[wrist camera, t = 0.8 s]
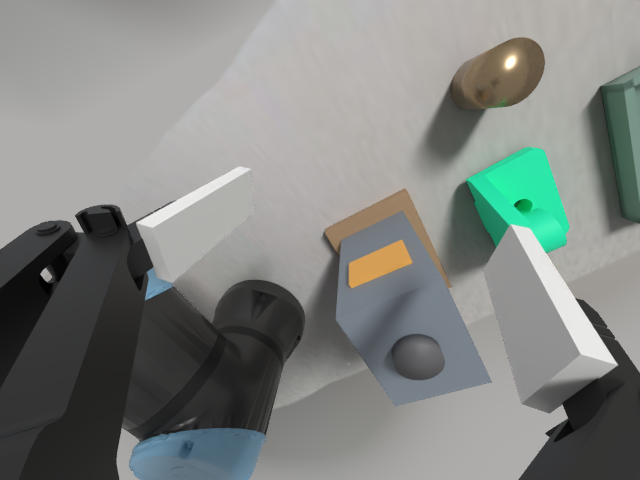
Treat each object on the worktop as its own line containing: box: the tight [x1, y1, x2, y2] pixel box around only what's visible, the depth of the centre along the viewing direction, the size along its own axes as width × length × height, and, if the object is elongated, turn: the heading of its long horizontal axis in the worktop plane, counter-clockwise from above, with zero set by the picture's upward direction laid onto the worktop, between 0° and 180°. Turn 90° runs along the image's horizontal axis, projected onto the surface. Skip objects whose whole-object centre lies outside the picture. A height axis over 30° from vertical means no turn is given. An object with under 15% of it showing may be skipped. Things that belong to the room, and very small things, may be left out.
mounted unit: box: [325, 189, 492, 406], centre depth 29 cm, size 12×16×19 cm
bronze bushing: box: [451, 37, 545, 110], centre depth 25 cm, size 5×5×7 cm
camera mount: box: [466, 147, 569, 253], centre depth 29 cm, size 12×8×10 cm, turn 34°
